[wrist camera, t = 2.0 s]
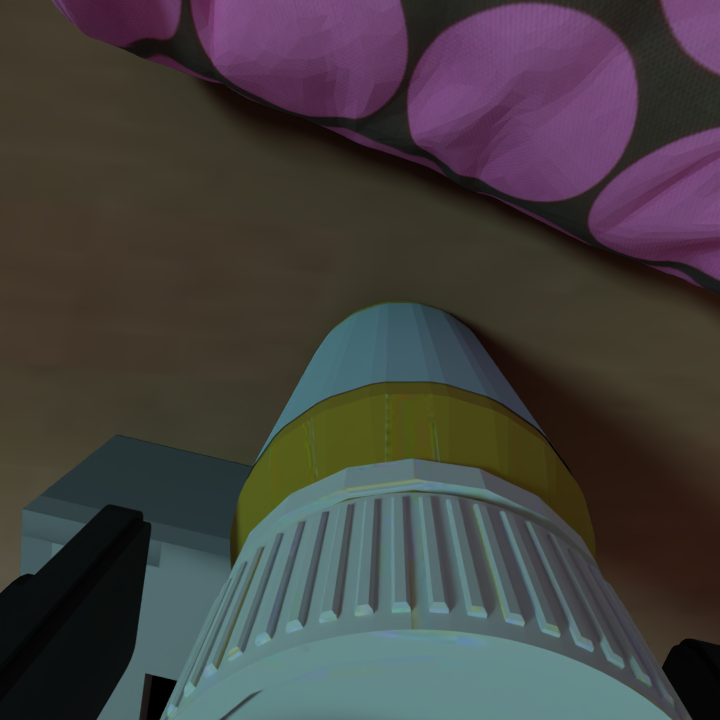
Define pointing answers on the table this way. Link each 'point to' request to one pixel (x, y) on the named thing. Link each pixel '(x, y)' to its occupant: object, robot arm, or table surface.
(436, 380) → the bottle
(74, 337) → the table surface
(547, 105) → the pencil case
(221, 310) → the table surface
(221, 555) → the box
